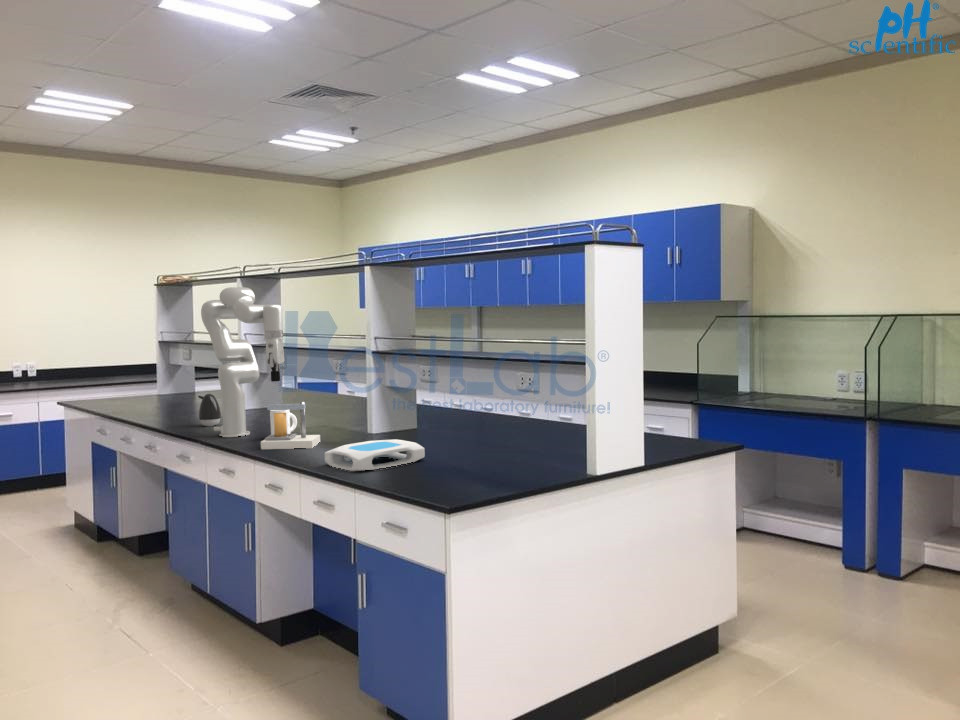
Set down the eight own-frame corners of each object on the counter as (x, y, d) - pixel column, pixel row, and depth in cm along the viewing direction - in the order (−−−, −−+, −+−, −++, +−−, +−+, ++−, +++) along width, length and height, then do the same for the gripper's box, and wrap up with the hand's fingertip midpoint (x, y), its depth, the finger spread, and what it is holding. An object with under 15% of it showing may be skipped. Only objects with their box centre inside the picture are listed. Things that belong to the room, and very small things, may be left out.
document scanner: (324, 466, 270) (323, 448, 270) (389, 454, 289) (389, 437, 289) (359, 474, 255) (358, 455, 255) (425, 461, 274) (425, 443, 274)
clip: (268, 438, 309) (267, 403, 308) (270, 437, 312) (269, 402, 311) (305, 437, 309) (303, 402, 308) (306, 436, 312) (305, 401, 311)
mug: (302, 436, 333) (301, 408, 332) (277, 440, 325) (276, 411, 324) (292, 434, 339) (291, 406, 338) (267, 438, 331) (266, 409, 330)
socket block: (260, 449, 304) (260, 439, 304) (271, 443, 318) (270, 433, 318) (312, 448, 304) (312, 438, 303) (320, 442, 318) (319, 432, 317)
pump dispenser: (204, 424, 377) (203, 392, 376) (225, 424, 376) (224, 392, 375) (194, 427, 367) (192, 395, 366) (215, 427, 366) (213, 394, 365)
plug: (271, 439, 308) (270, 414, 307) (275, 437, 314) (274, 412, 313) (286, 439, 308) (285, 414, 307) (290, 437, 313) (289, 412, 313)
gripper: (277, 335, 306) (280, 382, 307) (287, 334, 321) (289, 379, 322) (258, 336, 306) (260, 383, 308) (269, 335, 321) (271, 379, 322)
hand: (275, 381), depth 315 cm, fingers closed
